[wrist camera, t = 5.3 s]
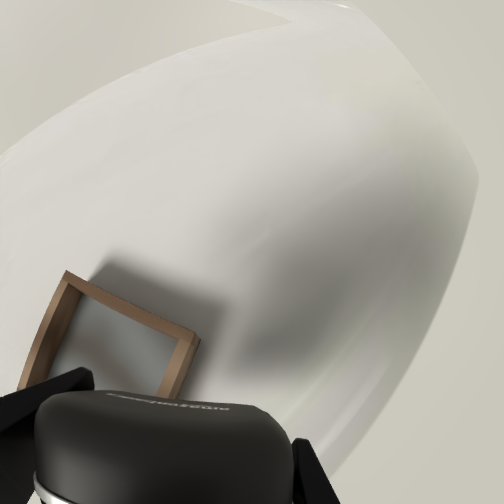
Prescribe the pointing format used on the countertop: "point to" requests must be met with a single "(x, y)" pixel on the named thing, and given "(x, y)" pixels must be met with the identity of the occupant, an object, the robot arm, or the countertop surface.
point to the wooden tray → (109, 343)
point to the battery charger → (158, 451)
